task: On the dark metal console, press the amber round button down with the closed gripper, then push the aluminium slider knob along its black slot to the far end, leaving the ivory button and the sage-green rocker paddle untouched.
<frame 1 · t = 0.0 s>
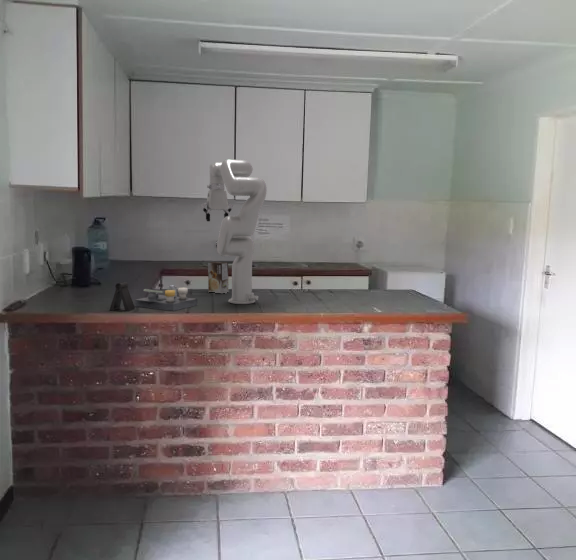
hand: (217, 221, 306), 37 cm above the table, tool pointing down, fingers open, 9 cm apart
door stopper: (122, 310, 260), on the table
console: (166, 305, 271), on the table
rocker paddle: (153, 292, 273), point 6 cm above the table, hinge at 12.0°
amber button: (170, 296, 263), point 5 cm above the table, slide at 0.0 cm
ivory button: (182, 293, 271), point 5 cm above the table, slide at 0.0 cm
coffee box: (218, 293, 310), on the table
slider knob: (172, 291, 275), point 6 cm above the table, slide at 0.0 cm
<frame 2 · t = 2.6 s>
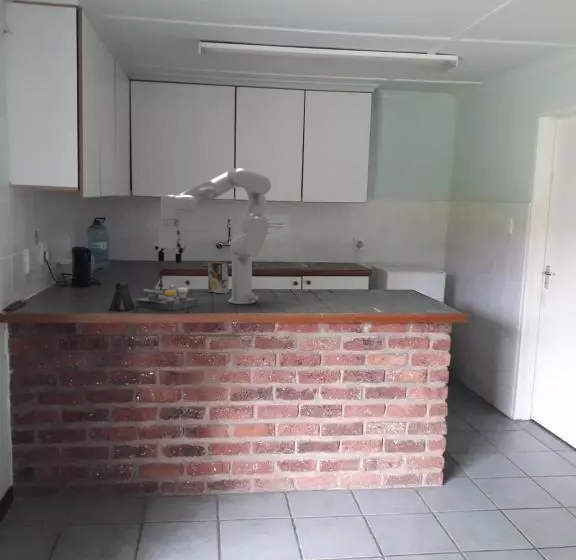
hand: (169, 262, 262), 21 cm above the table, tool pointing down, fingers open, 9 cm apart
nothing on the table moved.
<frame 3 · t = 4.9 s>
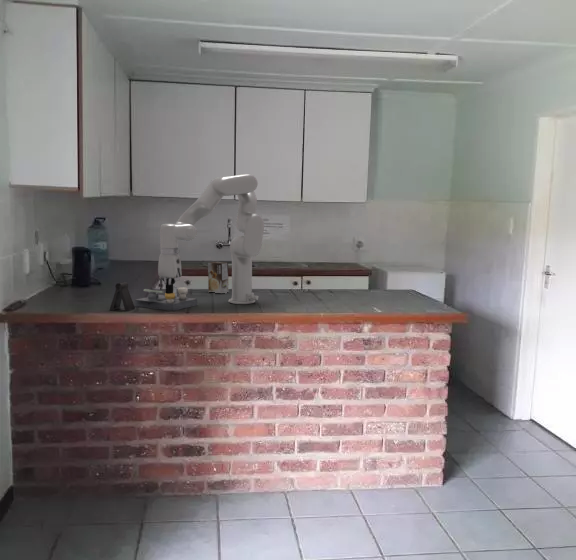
hand: (169, 293, 263), 7 cm above the table, tool pointing down, fingers closed
amber button: (170, 298, 263), point 4 cm above the table, slide at 1.1 cm, touching gripper
everything else where it was.
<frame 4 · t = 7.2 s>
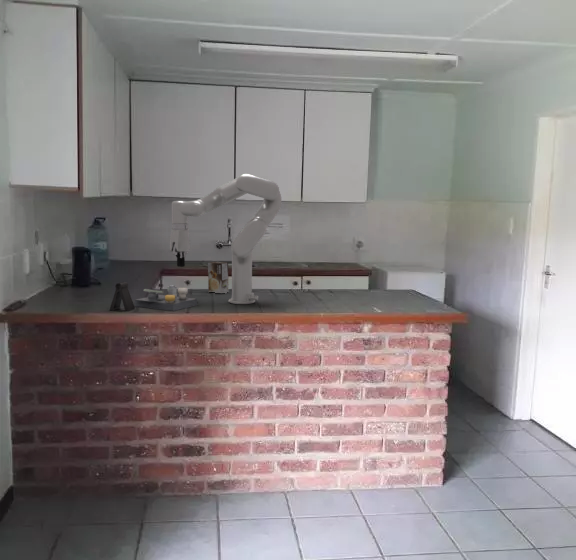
hand: (180, 266, 279), 17 cm above the table, tool pointing down, fingers closed
amber button: (170, 301, 263), point 3 cm above the table, slide at 2.1 cm
everything else where it was.
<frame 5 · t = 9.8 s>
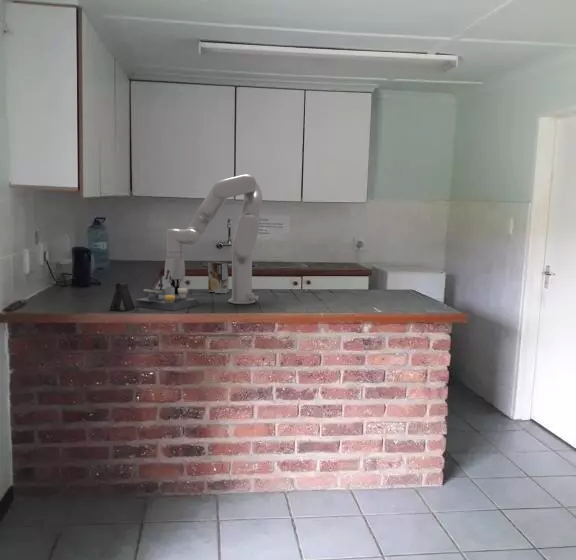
hand: (175, 294, 278), 4 cm above the table, tool pointing down, fingers closed
slider knob: (169, 291, 274), point 6 cm above the table, slide at 1.5 cm, touching gripper
everything else where it was.
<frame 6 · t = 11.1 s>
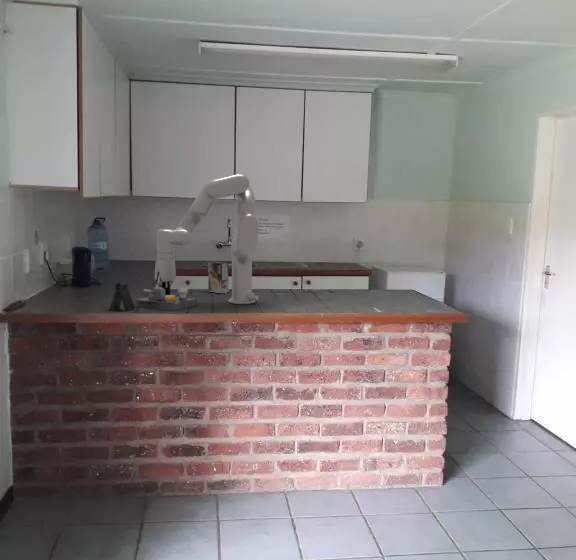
hand: (166, 296, 272), 4 cm above the table, tool pointing down, fingers closed
slider knob: (160, 293, 268), point 6 cm above the table, slide at 8.2 cm, touching gripper
everything else where it was.
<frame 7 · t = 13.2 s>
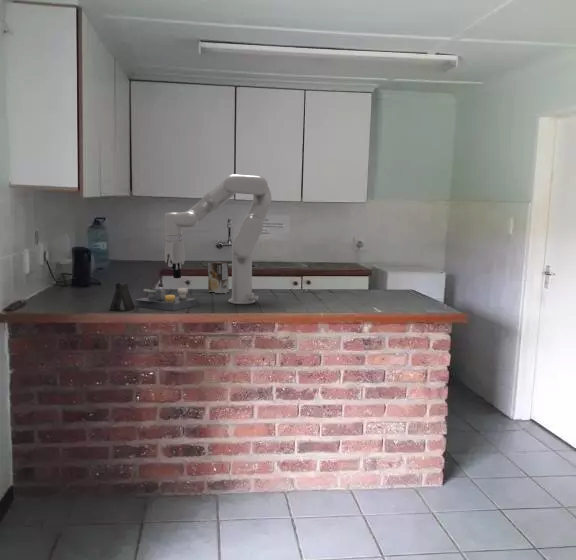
hand: (177, 277, 278), 12 cm above the table, tool pointing down, fingers closed
slider knob: (160, 293, 268), point 6 cm above the table, slide at 8.0 cm
everything else where it was.
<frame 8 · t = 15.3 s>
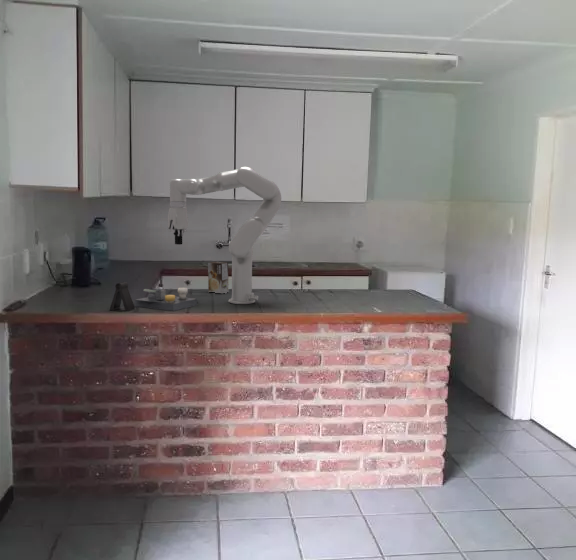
hand: (178, 244, 282), 27 cm above the table, tool pointing down, fingers closed
nothing on the table moved.
at the end: amber button slide at 2.1 cm; slider knob slide at 8.0 cm; ivory button slide at 0.0 cm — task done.
